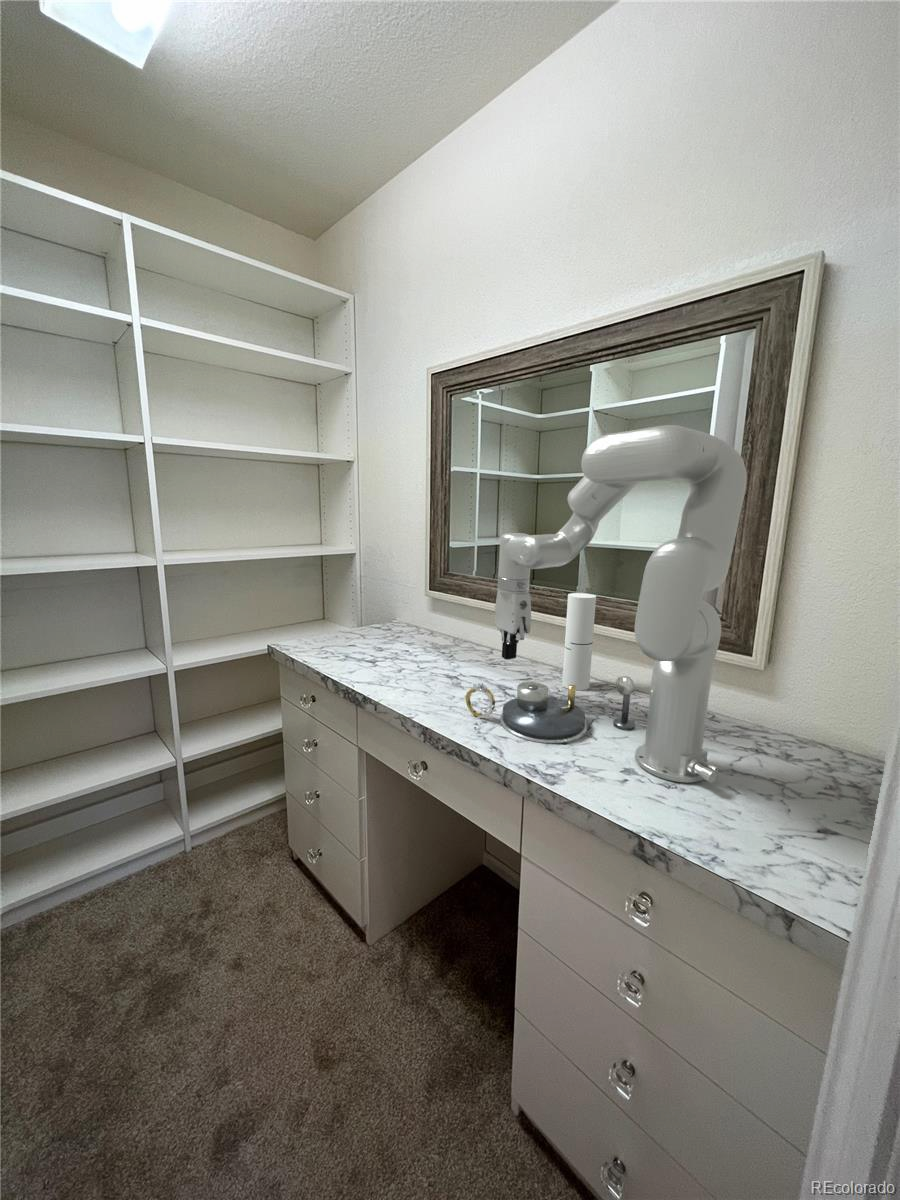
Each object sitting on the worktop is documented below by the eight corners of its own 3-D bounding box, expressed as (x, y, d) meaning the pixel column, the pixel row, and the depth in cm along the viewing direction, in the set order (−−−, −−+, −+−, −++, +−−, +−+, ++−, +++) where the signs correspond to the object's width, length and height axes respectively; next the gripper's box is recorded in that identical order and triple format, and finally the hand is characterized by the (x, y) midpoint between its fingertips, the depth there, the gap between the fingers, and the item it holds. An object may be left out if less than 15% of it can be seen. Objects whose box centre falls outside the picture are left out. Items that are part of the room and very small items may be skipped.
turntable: (602, 730, 100) (605, 699, 99) (531, 745, 93) (533, 712, 92) (551, 699, 116) (553, 672, 115) (488, 710, 109) (489, 682, 108)
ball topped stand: (639, 728, 103) (643, 678, 101) (623, 731, 101) (628, 681, 99) (624, 720, 107) (628, 672, 105) (609, 723, 105) (613, 674, 103)
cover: (553, 707, 106) (554, 689, 106) (527, 712, 104) (528, 693, 103) (536, 696, 113) (536, 679, 112) (511, 700, 110) (511, 683, 109)
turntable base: (605, 733, 100) (606, 732, 100) (530, 750, 92) (530, 748, 92) (552, 701, 117) (552, 699, 117) (485, 712, 109) (485, 711, 109)
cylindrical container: (583, 692, 123) (590, 598, 118) (557, 686, 127) (563, 595, 123) (593, 684, 129) (600, 595, 124) (568, 679, 133) (574, 592, 128)
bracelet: (463, 715, 108) (463, 682, 106) (471, 711, 110) (472, 678, 109) (488, 724, 103) (489, 690, 102) (496, 719, 106) (497, 686, 104)
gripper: (544, 590, 107) (538, 666, 111) (510, 579, 121) (506, 647, 124) (516, 591, 104) (511, 669, 108) (484, 580, 118) (481, 650, 121)
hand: (508, 657), depth 116 cm, fingers closed
